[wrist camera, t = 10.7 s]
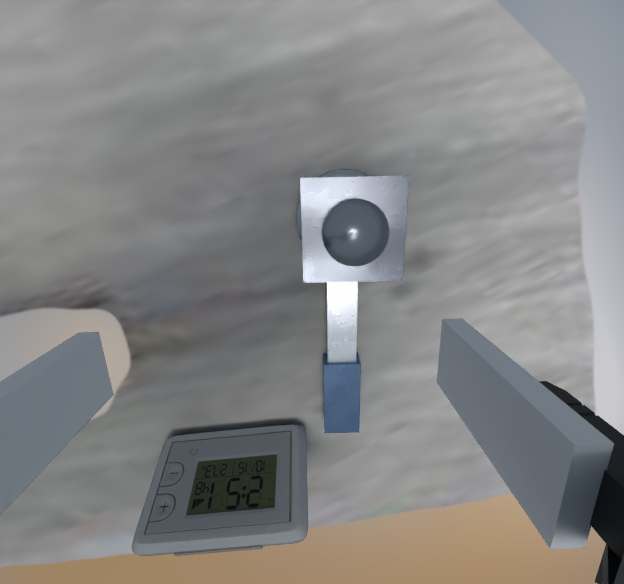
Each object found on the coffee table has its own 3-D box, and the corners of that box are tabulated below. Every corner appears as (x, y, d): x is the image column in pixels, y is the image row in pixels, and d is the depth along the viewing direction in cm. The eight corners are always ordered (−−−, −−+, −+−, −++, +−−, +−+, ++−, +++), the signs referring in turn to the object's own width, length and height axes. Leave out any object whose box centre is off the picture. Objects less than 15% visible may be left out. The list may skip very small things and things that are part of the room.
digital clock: (311, 419, 38) (311, 504, 28) (305, 482, 40) (303, 581, 30) (166, 408, 37) (112, 491, 27) (170, 472, 40) (121, 570, 30)
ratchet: (304, 418, 38) (303, 455, 32) (296, 171, 30) (292, 168, 25) (375, 417, 38) (386, 454, 32) (386, 169, 30) (402, 165, 25)
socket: (305, 258, 30) (303, 287, 21) (303, 180, 28) (299, 177, 19) (379, 256, 30) (406, 284, 21) (382, 178, 28) (414, 174, 19)
